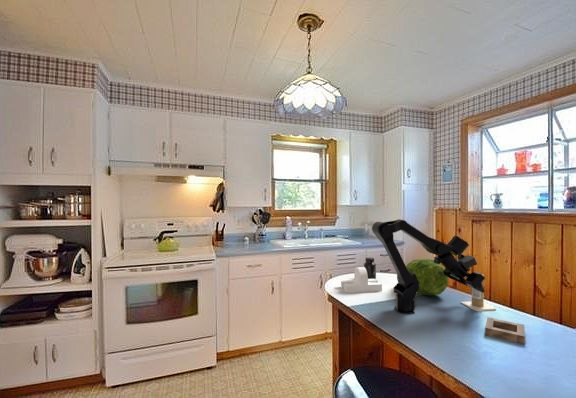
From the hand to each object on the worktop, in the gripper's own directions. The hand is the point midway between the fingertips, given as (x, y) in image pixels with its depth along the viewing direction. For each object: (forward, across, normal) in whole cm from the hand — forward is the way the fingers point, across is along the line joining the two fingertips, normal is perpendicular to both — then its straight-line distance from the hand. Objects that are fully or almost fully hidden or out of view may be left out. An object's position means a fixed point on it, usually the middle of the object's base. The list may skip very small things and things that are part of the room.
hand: (475, 288), depth 124 cm
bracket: (-22, +30, +34) cm, 50 cm away
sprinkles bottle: (+6, 0, +4) cm, 7 cm away
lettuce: (-3, +20, +14) cm, 25 cm away
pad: (+6, 0, +5) cm, 8 cm away
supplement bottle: (-14, +47, +26) cm, 55 cm away
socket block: (0, -24, +11) cm, 26 cm away
